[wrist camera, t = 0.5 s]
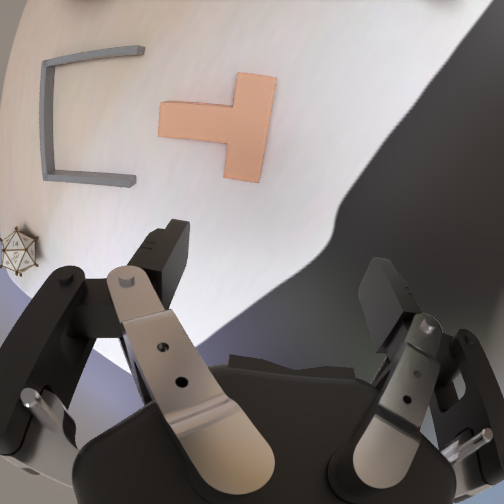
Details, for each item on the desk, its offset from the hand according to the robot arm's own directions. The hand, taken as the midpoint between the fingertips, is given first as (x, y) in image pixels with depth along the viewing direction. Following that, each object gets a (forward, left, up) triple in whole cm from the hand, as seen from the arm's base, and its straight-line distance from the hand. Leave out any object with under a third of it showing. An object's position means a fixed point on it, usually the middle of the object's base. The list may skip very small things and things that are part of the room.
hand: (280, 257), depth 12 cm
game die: (+20, -41, -24) cm, 52 cm away
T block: (-2, -7, -24) cm, 25 cm away
